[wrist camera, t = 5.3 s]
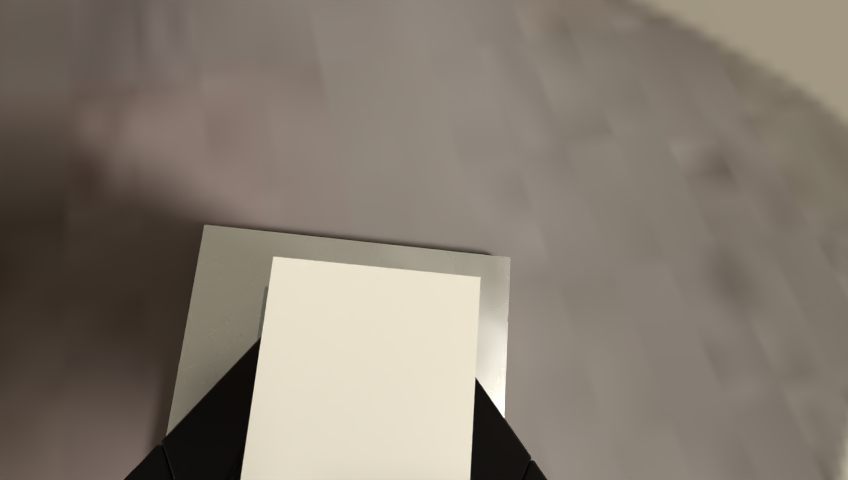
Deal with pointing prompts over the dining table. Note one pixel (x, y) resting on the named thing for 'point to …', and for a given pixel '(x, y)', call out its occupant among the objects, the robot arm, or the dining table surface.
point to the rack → (253, 255)
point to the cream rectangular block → (364, 374)
